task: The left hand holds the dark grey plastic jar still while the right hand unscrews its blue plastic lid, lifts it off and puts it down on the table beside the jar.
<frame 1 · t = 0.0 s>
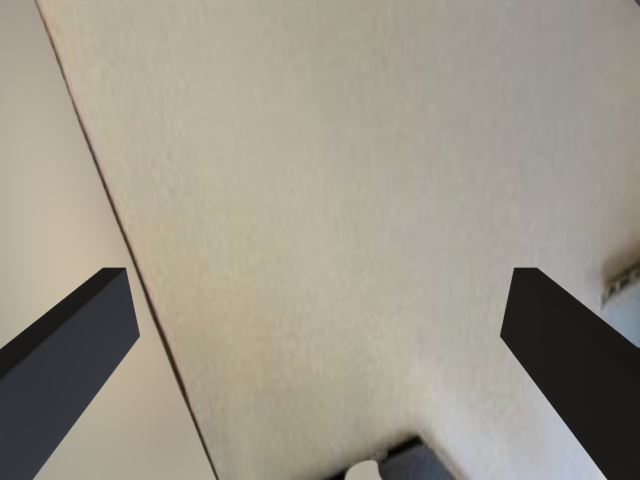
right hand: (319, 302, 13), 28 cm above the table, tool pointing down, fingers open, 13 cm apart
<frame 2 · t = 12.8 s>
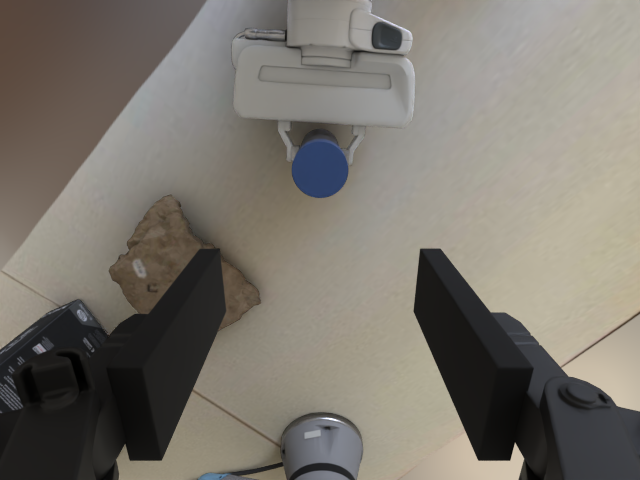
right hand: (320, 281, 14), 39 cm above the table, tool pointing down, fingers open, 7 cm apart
left hand: (319, 162, 45), fingers closed on jar, 5 cm apart
graphics card box: (97, 341, 62), on the table
lid: (320, 169, 36), point 16 cm above the table, screwed on, not yet turned
jar: (319, 148, 51), on the table, touching left hand
stone: (191, 269, 57), on the table
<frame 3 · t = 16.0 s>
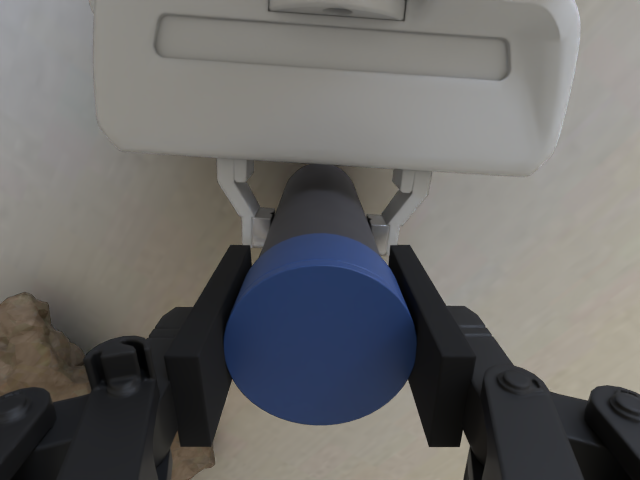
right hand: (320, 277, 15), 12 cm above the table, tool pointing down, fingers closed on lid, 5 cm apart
left hand: (319, 248, 20), fingers closed on jar, 5 cm apart
lid: (320, 345, 11), point 16 cm above the table, screwed on, not yet turned, touching right hand
jar: (319, 199, 26), on the table, touching left hand
stone: (91, 405, 32), on the table
when the right hand's fingers open (12 cm above the table, at t = 17.5 s): lid stays where it is, point 16 cm above the table.
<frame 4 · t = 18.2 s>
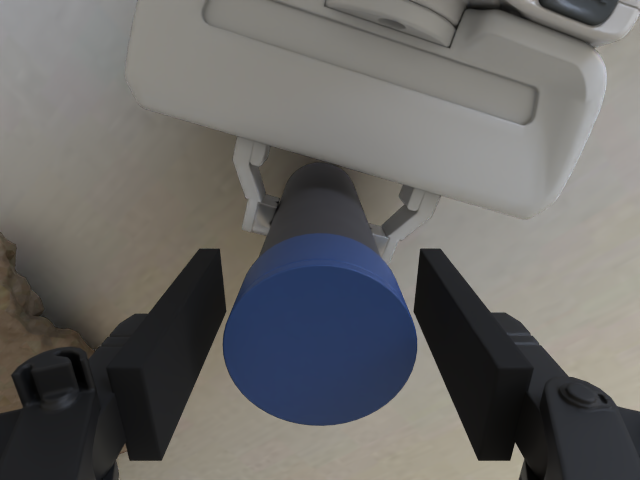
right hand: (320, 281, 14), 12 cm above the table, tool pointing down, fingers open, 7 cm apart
left hand: (316, 246, 20), fingers closed on jar, 5 cm apart
lid: (319, 345, 11), point 16 cm above the table, turned 93° so far, risen 0.2 cm, still on its thread
jar: (319, 198, 26), on the table, touching left hand
stone: (38, 358, 31), on the table
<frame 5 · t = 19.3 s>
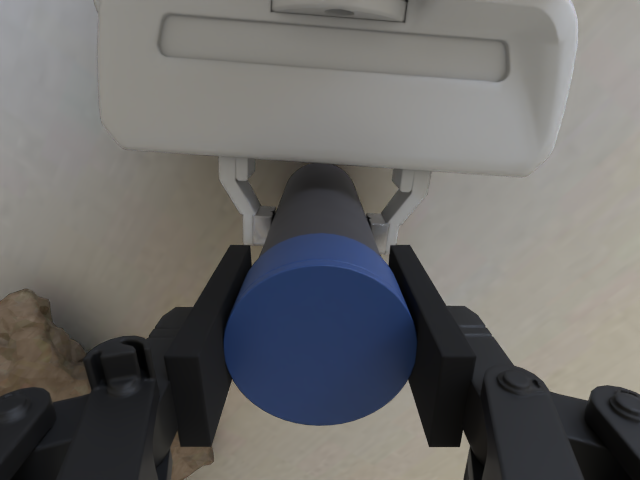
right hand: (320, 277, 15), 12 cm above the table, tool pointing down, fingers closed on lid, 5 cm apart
left hand: (319, 246, 20), fingers closed on jar, 5 cm apart
lid: (320, 345, 11), point 16 cm above the table, turned 93° so far, risen 0.2 cm, still on its thread, touching right hand
jar: (320, 198, 26), on the table, touching left hand
stone: (91, 401, 32), on the table
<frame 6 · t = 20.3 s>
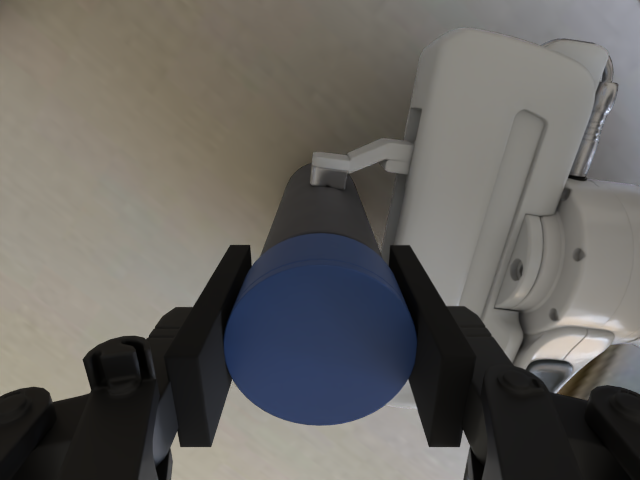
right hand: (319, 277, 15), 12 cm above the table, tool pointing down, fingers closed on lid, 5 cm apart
lid: (320, 345, 11), point 17 cm above the table, off its thread, touching right hand
jar: (320, 197, 26), on the table, touching left hand
when the right hand's fingers open (0 cm above the table, at t = 29.6 s): lid drops 2 cm, point 2 cm above the table.
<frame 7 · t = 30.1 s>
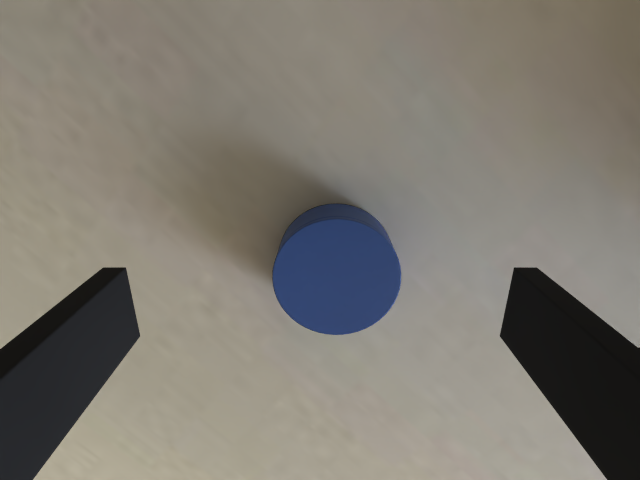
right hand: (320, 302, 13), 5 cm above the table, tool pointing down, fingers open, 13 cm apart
lid: (336, 276, 16), point 2 cm above the table, off its thread
when the left hand's fingers open (7 cm above the table, at t = 30.3 s): jar stays where it is, on the table.
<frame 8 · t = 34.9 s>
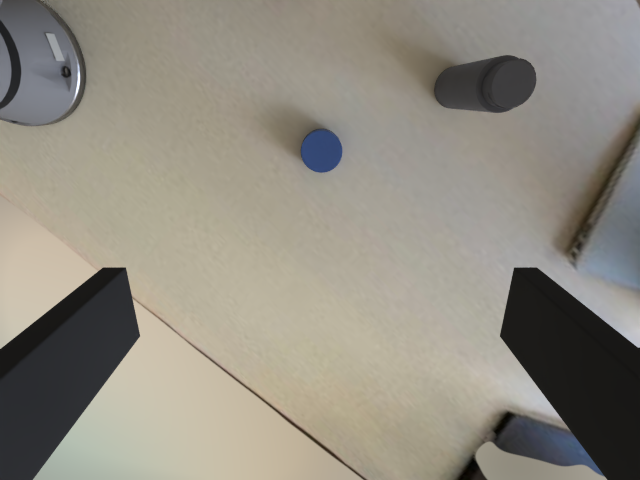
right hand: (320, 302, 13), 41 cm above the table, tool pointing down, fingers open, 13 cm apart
lid: (321, 151, 49), point 2 cm above the table, off its thread
jar: (453, 87, 48), on the table
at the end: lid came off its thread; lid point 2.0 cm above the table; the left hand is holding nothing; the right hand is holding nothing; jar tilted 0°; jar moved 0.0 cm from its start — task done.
